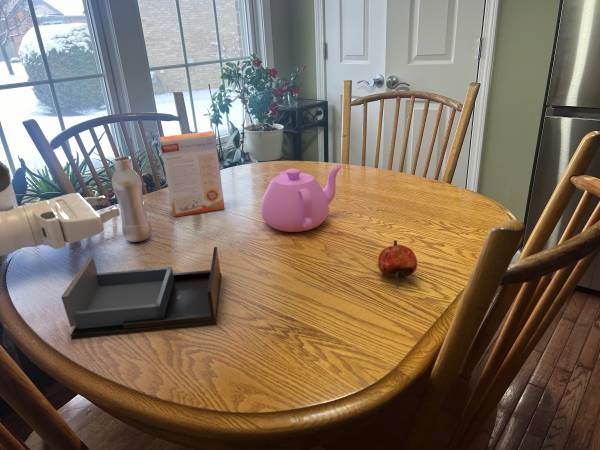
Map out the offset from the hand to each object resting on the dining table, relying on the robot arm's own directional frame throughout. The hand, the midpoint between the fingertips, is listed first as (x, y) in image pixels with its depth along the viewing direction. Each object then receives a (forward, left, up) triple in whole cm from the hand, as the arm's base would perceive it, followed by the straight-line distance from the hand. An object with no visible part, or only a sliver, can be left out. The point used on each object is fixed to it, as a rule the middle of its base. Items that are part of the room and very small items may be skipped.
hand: (111, 205), depth 100 cm
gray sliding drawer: (-11, -26, -9) cm, 30 cm away
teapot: (+37, -25, -10) cm, 46 cm away
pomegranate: (+28, -58, -10) cm, 65 cm away
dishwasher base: (-8, -29, -10) cm, 32 cm away
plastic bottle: (+4, -1, -10) cm, 11 cm away
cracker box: (+24, +3, -10) cm, 26 cm away
